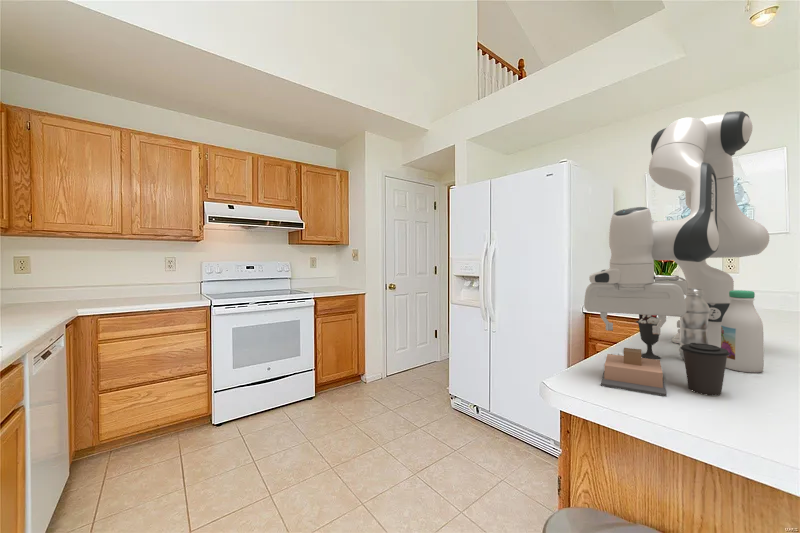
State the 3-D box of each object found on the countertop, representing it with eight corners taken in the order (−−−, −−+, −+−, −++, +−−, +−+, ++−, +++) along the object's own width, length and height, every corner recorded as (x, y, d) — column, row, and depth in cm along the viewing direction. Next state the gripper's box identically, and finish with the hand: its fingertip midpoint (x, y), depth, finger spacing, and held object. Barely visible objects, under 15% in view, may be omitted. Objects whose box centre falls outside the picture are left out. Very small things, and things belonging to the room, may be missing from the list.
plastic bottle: (717, 365, 91) (717, 290, 90) (687, 364, 92) (687, 290, 91) (700, 358, 97) (700, 287, 96) (673, 357, 98) (673, 288, 98)
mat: (606, 364, 94) (606, 362, 94) (661, 371, 87) (661, 369, 87) (600, 385, 79) (600, 383, 79) (666, 396, 72) (666, 393, 72)
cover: (607, 366, 90) (607, 342, 90) (659, 373, 84) (659, 347, 84) (604, 378, 81) (604, 352, 81) (662, 388, 75) (662, 359, 75)
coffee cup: (682, 381, 80) (682, 338, 80) (730, 389, 75) (730, 344, 74) (678, 391, 74) (678, 346, 74) (730, 401, 69) (730, 352, 69)
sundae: (666, 361, 95) (666, 307, 94) (637, 358, 98) (636, 306, 98) (662, 355, 101) (662, 304, 100) (634, 352, 104) (634, 303, 103)
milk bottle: (762, 367, 88) (762, 290, 87) (764, 375, 82) (764, 293, 82) (721, 361, 93) (721, 288, 93) (720, 369, 88) (720, 291, 87)
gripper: (685, 274, 79) (686, 333, 79) (585, 274, 91) (586, 325, 91) (689, 276, 74) (689, 339, 74) (582, 276, 85) (583, 330, 86)
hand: (632, 332), depth 83 cm, fingers open, 8 cm apart
